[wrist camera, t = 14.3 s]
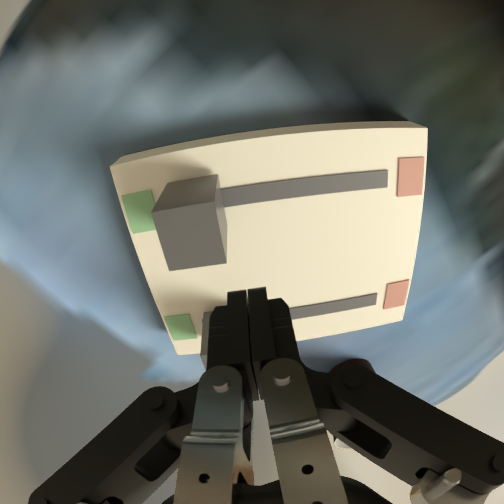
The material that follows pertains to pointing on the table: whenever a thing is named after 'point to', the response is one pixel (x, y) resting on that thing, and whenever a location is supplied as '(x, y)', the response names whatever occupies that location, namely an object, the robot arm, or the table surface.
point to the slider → (205, 337)
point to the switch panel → (290, 223)
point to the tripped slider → (192, 223)
